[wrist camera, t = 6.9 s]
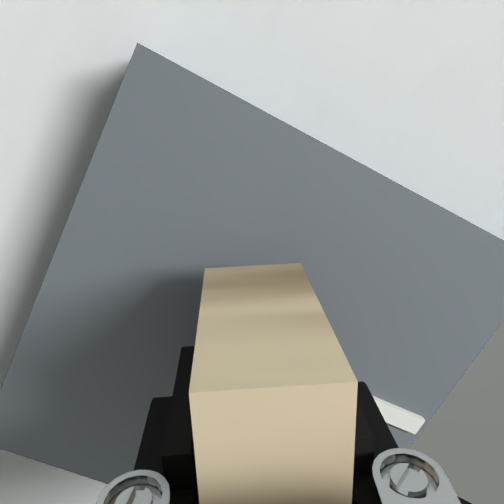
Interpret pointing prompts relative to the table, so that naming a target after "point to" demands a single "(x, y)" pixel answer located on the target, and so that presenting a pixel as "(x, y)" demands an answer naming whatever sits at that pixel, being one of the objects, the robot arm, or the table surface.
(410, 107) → the table surface
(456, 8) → the table surface
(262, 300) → the tall beige block
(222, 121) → the flat gray square plate
